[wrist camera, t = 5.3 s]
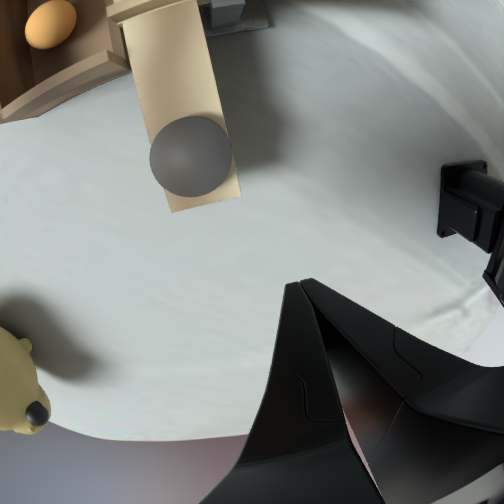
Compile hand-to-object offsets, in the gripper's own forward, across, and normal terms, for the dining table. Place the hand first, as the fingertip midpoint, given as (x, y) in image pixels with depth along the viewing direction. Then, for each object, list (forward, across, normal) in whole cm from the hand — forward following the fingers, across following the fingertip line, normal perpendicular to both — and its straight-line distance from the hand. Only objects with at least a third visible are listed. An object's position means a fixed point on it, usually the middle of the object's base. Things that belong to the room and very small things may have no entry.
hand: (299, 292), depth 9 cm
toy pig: (+10, +26, +8) cm, 29 cm away
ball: (+8, +9, -14) cm, 19 cm away
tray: (+10, +9, -14) cm, 19 cm away
